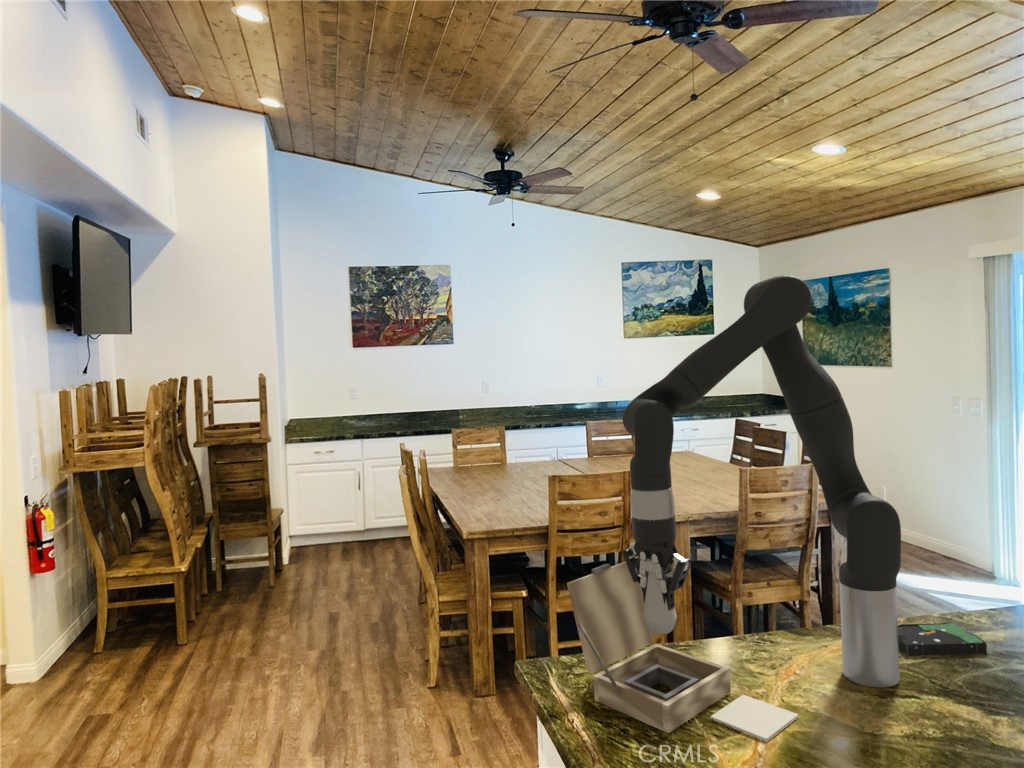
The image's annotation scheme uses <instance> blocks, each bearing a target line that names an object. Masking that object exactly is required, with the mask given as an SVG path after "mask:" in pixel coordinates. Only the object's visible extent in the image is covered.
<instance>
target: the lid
mask: <svg viewBox="0 0 1024 768" xmlns="http://www.w3.org/2000/svg"><path fill="white" fill-rule="evenodd" d="M635 569H636V567H635ZM636 572H637V569H636ZM637 574H638V572H637ZM566 586H567V590H568V595H569V600H570V603H571V607H572V608H571V609H572V610H573V616H574V619H575V624H576V628H577V632H578V637H579V641H580V645H581V649H582V654H583V658H584V663H585V666H586V671H587V674H593V673H596V672H598V671H599V670H602V669H603V667H602V666H601V664H600V662H599V661H598V659H597V657H596V655H595V654H594V652H593V650H592V649H591V647H590V645H589V643H588V642H587V640H586V638H585V637H584V635H583V633H582V632H581V630H580V628H579V626H578V625H577V624H578V622H580V623H581V625H582V627H583V628H584V630H585V632H586V633H587V635H588V637H589V638H590V640H591V642H592V644H593V645H594V647H595V649H596V650H597V652H598V654H599V655H600V657H601V659H602V660H603V662H604V664H605V666H606V667H608V666H609V665H612V664H614V663H616V662H617V661H620V660H621V659H623V658H625V657H627V656H629V655H632V654H633V653H635V652H637V651H638V652H639V650H641V649H643V648H645V647H648V646H651V644H654V643H655V642H656V641H655V637H654V636H655V635H654V633H652V632H650V631H649V629H648V627H647V625H646V623H645V621H644V618H643V612H644V601H643V588H642V587H641V585H640V583H638V582H634V581H633V580H632V577H631V574H630V572H629V569H628V566H627V564H626V561H624V562H621V563H617V564H615V565H612V566H611V563H605V564H602V565H599V566H597V567H594V568H591V573H590V574H588V575H585V576H582V577H579V578H577V579H574V580H572V581H569V582H567V583H566Z"/></svg>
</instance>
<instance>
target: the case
mask: <svg viewBox="0 0 1024 768" xmlns="http://www.w3.org/2000/svg"><path fill="white" fill-rule="evenodd" d="M577 625H578V626H579V628H580V630H581V632H582V633H583V635H584V637H585V638H586V640H587V642H588V643H589V645H590V647H591V649H592V650H593V652H594V654H595V655H596V657H597V659H598V661H599V662H600V664H601V666H602V667H603V668H602V669H603V670H601V671H599V672H598V673H596V674H593V679H592V680H593V692H594V693H593V694H594V695H593V696H594V701H595V702H598V703H599V704H602V705H604V706H607V707H609V708H611V709H613V710H615V711H618V712H620V713H622V714H624V715H627V716H629V717H631V718H633V719H635V720H638V721H640V722H641V723H644V724H647V725H649V726H652V727H653V728H656V729H658V730H660V731H663V732H665V733H667V734H670V733H671V732H673V731H675V730H677V729H678V728H680V727H681V726H682V725H684V724H686V723H687V722H688V720H689V721H691V720H692V719H693V718H695V717H696V716H698V715H699V714H701V713H703V712H704V711H705V710H704V709H706V708H707V707H708V706H709V705H711V704H713V703H714V702H716V701H717V700H719V699H721V698H722V697H724V696H725V695H727V694H728V693H730V692H731V691H732V690H731V672H730V667H726V666H725V665H724V666H723V665H720V664H718V663H715V662H712V661H708V660H706V659H703V658H700V657H696V656H695V655H691V654H688V653H685V652H682V651H680V650H677V649H673V648H670V647H667V646H664V645H661V644H658V643H655V644H653V645H652V646H651V645H650V646H649V647H647V648H645V649H643V650H641V651H640V652H639V651H638V652H637V653H636V654H633V655H631V656H629V657H627V658H626V659H623V660H621V661H619V662H617V663H615V664H613V665H611V666H609V667H608V666H605V664H604V662H603V660H602V659H601V657H600V655H599V654H598V652H597V650H596V649H595V647H594V645H593V644H592V642H591V640H590V638H589V637H588V635H587V633H586V632H585V630H584V628H583V627H582V625H581V623H580V622H578V624H577ZM577 625H576V626H577ZM659 683H660V684H659ZM658 684H659V685H662V684H663V685H662V686H664V685H666V686H665V687H667V686H668V688H670V687H671V688H670V689H672V688H673V689H672V690H670V691H668V692H667V693H664V692H662V691H660V690H657V689H653V687H655V686H656V685H658ZM731 693H732V692H731ZM731 693H730V694H731ZM727 696H728V695H727ZM724 698H725V697H724ZM722 699H723V698H722ZM722 699H721V700H722ZM719 701H720V700H719ZM716 703H717V702H716ZM713 705H714V704H713ZM707 709H708V708H707ZM707 709H706V710H707ZM703 710H704V711H703ZM700 712H701V713H700ZM698 713H699V714H698ZM697 714H698V715H697ZM694 716H695V717H694ZM691 718H692V719H691ZM685 722H686V723H685ZM683 723H684V724H683ZM680 725H681V726H680Z"/></svg>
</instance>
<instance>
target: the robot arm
mask: <svg viewBox="0 0 1024 768" xmlns="http://www.w3.org/2000/svg"><path fill="white" fill-rule="evenodd" d="M811 307H812V292H811V290H810V288H809V286H808V285H807V283H806V282H805V281H804V280H803V279H801V278H799V277H797V276H794V275H787V274H786V275H777V276H773V277H770V278H767V279H764V280H762V281H759V282H757V283H755V284H753V285H752V286H751V287H749V289H748V290H747V291H746V293H745V295H744V299H743V312H744V314H742V315H741V316H740V317H739V318H738V319H737V320H735V321H734V322H733V323H732V324H731V325H729V326H728V327H727V328H725V329H724V330H723V331H721V332H720V333H719V334H716V336H714V337H712V338H711V339H710V340H708V341H707V342H705V343H703V344H702V345H701V346H700V347H698V348H697V349H695V350H694V351H693V352H691V353H690V354H688V356H686V357H685V358H684V359H683V360H682V361H681V362H680V363H678V365H676V366H675V367H673V369H672V370H671V371H670V372H669V373H668V374H666V376H665V377H663V378H662V379H661V380H659V381H657V382H655V383H654V384H652V385H651V386H650V387H648V388H647V389H645V390H644V391H642V392H641V393H640V394H638V395H637V396H636V397H634V398H633V399H632V400H631V401H630V402H629V403H628V404H627V406H626V407H625V409H624V411H623V414H622V424H623V427H624V429H625V430H626V432H627V433H629V434H630V435H631V436H633V437H634V455H633V456H632V457H631V458H630V463H629V475H630V488H631V489H630V512H631V513H630V514H631V515H630V517H631V527H632V528H631V529H632V539H633V540H634V545H633V546H631V547H628V548H625V549H623V550H622V552H621V553H622V555H623V558H624V562H626V564H627V566H628V569H629V572H630V574H631V577H632V580H633V581H634V582H638V583H640V585H641V588H642V593H643V601H644V604H645V597H646V589H647V581H648V574H649V572H647V571H646V570H645V562H646V560H647V559H648V558H650V559H652V561H653V563H654V564H655V565H656V576H657V579H658V580H659V582H660V586H661V591H662V592H663V593H662V596H663V600H664V604H665V600H666V601H667V604H668V610H669V611H670V610H672V609H674V606H675V605H676V604H675V592H676V591H677V590H680V589H682V588H684V586H685V582H686V579H687V576H688V574H689V570H690V568H691V566H692V560H691V558H689V557H686V558H684V557H683V556H681V555H680V554H679V551H678V549H677V547H676V544H675V543H676V539H677V525H676V523H677V521H676V511H675V498H674V494H673V493H674V492H673V485H672V472H671V471H672V469H671V468H672V467H671V457H672V451H673V443H674V434H675V433H674V432H675V431H674V428H675V426H674V419H673V416H674V415H675V414H676V413H678V412H679V411H681V410H683V409H688V408H691V407H692V406H694V405H696V404H697V403H698V402H699V401H700V400H701V399H703V398H704V397H705V396H706V395H707V394H708V393H709V392H710V391H711V390H713V388H715V387H716V386H718V384H719V383H720V382H721V381H723V380H724V379H725V378H726V376H729V374H730V373H731V372H732V371H734V370H735V369H736V368H737V367H738V366H739V365H741V363H744V361H745V360H747V359H748V358H749V357H750V356H751V355H752V354H754V353H756V352H757V351H758V350H759V349H760V348H762V349H763V352H764V353H765V356H766V357H767V359H768V362H769V364H770V366H771V369H772V371H773V374H774V376H775V379H776V382H777V384H778V386H779V389H780V392H781V394H782V396H783V398H784V401H785V404H786V407H787V409H788V412H789V415H790V416H791V420H792V422H793V424H794V427H795V429H796V431H797V433H798V436H799V438H800V440H801V441H802V442H801V443H802V444H803V446H804V447H803V448H805V451H806V454H807V457H808V459H809V461H810V462H811V465H812V466H813V468H814V470H815V473H816V475H817V478H818V481H819V484H820V487H821V490H822V493H823V496H824V497H823V498H824V501H825V505H826V507H827V512H828V515H829V518H830V522H831V524H832V526H833V528H834V529H835V531H836V532H837V533H838V534H840V536H841V537H843V538H844V539H846V560H845V562H843V563H842V564H840V565H839V569H838V577H839V579H838V580H839V582H838V583H839V600H840V601H839V602H840V603H839V604H840V626H841V629H840V631H841V650H842V651H841V654H842V655H841V656H842V657H841V658H842V674H843V676H844V677H845V678H847V680H849V681H851V682H853V683H856V684H857V685H861V686H865V687H870V688H891V687H893V686H896V685H898V684H899V683H900V680H901V673H900V672H901V671H900V649H899V640H898V625H899V620H898V618H899V616H898V595H897V594H898V591H897V577H898V574H899V572H900V569H901V566H902V565H901V563H902V528H901V520H900V517H899V513H898V512H897V510H896V509H895V507H894V506H893V505H892V504H890V503H889V502H888V501H886V500H884V499H882V498H880V497H878V496H875V495H873V494H872V493H871V491H870V490H869V488H868V486H867V483H866V482H865V480H864V478H863V475H862V473H861V472H860V469H859V466H858V465H857V461H856V457H855V445H854V444H855V443H854V442H855V441H854V428H853V423H852V419H851V416H850V413H849V411H848V407H847V405H846V403H845V400H844V398H843V396H842V393H841V391H840V389H839V387H838V385H837V384H836V382H835V381H834V380H833V378H832V377H831V376H830V374H829V373H828V372H827V371H826V369H825V368H824V367H823V366H822V365H821V364H820V362H819V361H817V359H816V358H815V357H814V356H813V355H812V353H811V352H810V351H809V349H808V348H807V346H806V344H805V342H804V340H803V337H802V335H801V333H800V330H799V327H798V324H799V323H800V322H802V321H803V319H805V318H806V316H807V315H808V314H809V311H810V309H811ZM673 563H674V565H673ZM635 567H636V569H637V572H636V569H635ZM657 567H658V568H657ZM668 569H669V570H668ZM666 570H668V571H666ZM663 571H666V572H665V573H663ZM637 573H638V574H637ZM666 579H667V580H666ZM667 582H668V584H667Z"/></svg>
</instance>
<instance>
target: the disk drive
mask: <svg viewBox="0 0 1024 768" xmlns="http://www.w3.org/2000/svg"><path fill="white" fill-rule="evenodd" d="M898 640H899V651H902V652H903V653H904V654H905V655H906V656H908V657H913V656H914V657H922V656H950V655H951V656H955V655H957V656H958V655H987V654H988V647H987V646H988V643H987V642H986V641H985V640H984V639H982V638H981V637H979V636H978V635H976V634H975V633H974V632H972V631H969V630H968V629H967V628H964V627H963V626H961V623H949V622H942V623H936V622H935V623H909V624H908V623H907V624H906V623H905V624H903V623H902V624H901V623H900V624H899V623H898Z"/></svg>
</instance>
